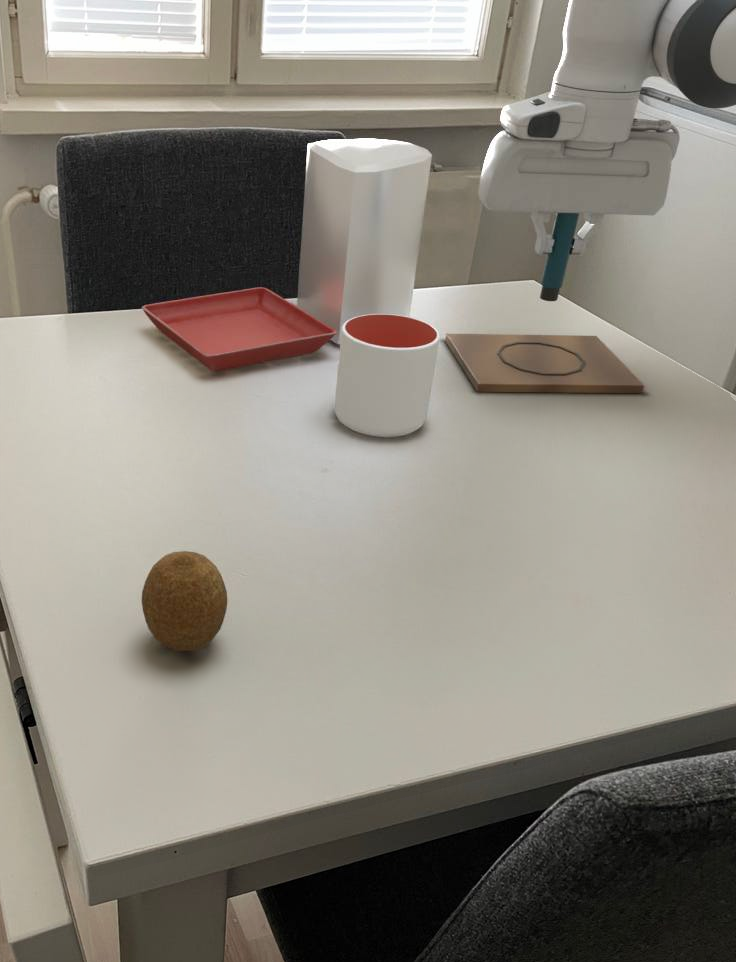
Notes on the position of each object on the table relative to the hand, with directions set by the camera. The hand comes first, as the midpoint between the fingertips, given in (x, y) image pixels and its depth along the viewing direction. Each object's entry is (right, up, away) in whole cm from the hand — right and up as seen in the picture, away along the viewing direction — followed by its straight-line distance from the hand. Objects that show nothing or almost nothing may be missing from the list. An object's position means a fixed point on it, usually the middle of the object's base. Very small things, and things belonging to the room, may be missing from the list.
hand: (558, 253), depth 112 cm
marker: (0, -4, +3) cm, 5 cm away
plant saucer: (-37, -7, +12) cm, 39 cm away
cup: (-21, -20, -4) cm, 29 cm away
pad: (+1, -10, +10) cm, 14 cm away
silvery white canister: (-20, -2, +20) cm, 28 cm away
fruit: (-40, -44, -37) cm, 70 cm away
